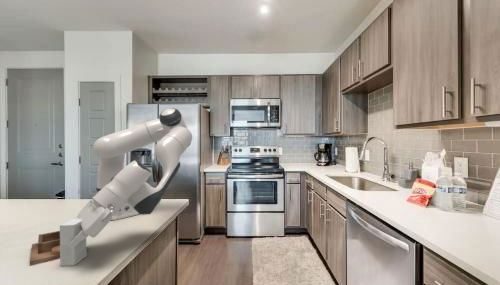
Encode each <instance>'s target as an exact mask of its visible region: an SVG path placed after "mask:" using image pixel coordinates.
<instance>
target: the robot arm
mask: <svg viewBox="0 0 500 285" xmlns="http://www.w3.org/2000/svg"><path fill="white" fill-rule="evenodd" d="M192 141H193V135H192V132H191V131H190V130H189V128H188V125H187V124H186V122H185V120H184V117H183V116H182V113H181V112H180V111H179V109H178V108H175V107H173V108H167V109H165V110H163V111H161V112H160V114H159V118H156V119H152V120H149V121H146V122H142V123H139V124H137V125H134V126H131V127H129V128H125V129H123V130H119V131H115V132H112V133H110V134H107V135H104V136H101V137H99V138H98V139H96V140H95V141H94V143H93V146H92V149H93V150H92V151H93V153H94V154H95V156H97V157H98V158H99V164H98V169H97V170H96V171H97V172H96V173H97V174H96V177H97V178H96V181H97V182H96V183H97V184H96V185H97V186H96V190H95V193H94V194H93V195H92V198H91V199H90V200H89V201H88V202H87V203H86V204H85V206H83V207H82V209H81V210H80V211H79V212H78V214H77V215H76V217H77V218H76V219H82V222H81V227H82V230H81V231H80V233H79V234H78V235H77V236H76V237H74V238H73V239H72V240H71V241H70V243H71V245H73V246H76V245H77V244H78V243H79V242H80V241H82V240H83V239H85V238H86V239H87V237H91V238H95V237H97V236H98V235H99V234H100V233H101V232H102V231H103V230H104V229H105V227H106V226H107V225H108V223H110V221H116V220H121V219H125V218H129V217H134V216H137V215H142V216H143V215H151V214H152V213H153V212H155V211H156V210H157V208H158V207H159V206H160V204H161V201H162V199H163V196H164V194H165V193H166V191H167V190H168V188H169V187H170V185H171V183H172V182H173V180H174V179H175V177H176V175H177V173H178V171H179V169H180V167H181V162H180V159H181V158H180V157H181V156H182V154H183V153H184V152H186V151H187V149H188V148H189V147H190V145H191V144H192ZM156 142H157V143H156ZM153 143H156V145H155V149H154V150H155V157H156V159H157V161H158V162H159V164H160V165H161V167H162V169H163V176H162V177H161V180H160V181H159V182H158V184H157V185H156V187H153V186H152V185H151V184H149V183H147V180H148V179H149V177H151V175H152V171H151V170H150V169H149V168H148V167H147V166H146V165H144V164H143V163H142V162H141V161H139V160H133V161H131V162H130V163H128V164H127V165H126V166H125V167H124V165H125V155H126V154H128V153H130V152H133V151H135V150H136V151H137V150H139V149H140V148H141V149H142V148H143V147H146V146H148V145H151V144H153Z"/></svg>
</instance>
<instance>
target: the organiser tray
mask: <svg viewBox="0 0 500 285" xmlns="http://www.w3.org/2000/svg"><path fill="white" fill-rule="evenodd" d="M37 239H38V241H37V242H36V243H32V244H31V248H30V255H29V256H30V257H29V266H35V265H38V264H39V265H40V264H43V263H47V262H51V261H54V260H60V230H57V231H52V232H45V233H40V234H38V238H37ZM86 251H87V252H88V246H87V245H86Z"/></svg>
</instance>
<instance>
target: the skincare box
mask: <svg viewBox="0 0 500 285" xmlns="http://www.w3.org/2000/svg"><path fill="white" fill-rule="evenodd" d="M81 222H82V219H78V218H72V219H70V220H68V221H66V222H63V223H62V224H60V225H59V231H60V258H59V260H60V261H59V262H60V267H68V266H71V267H72V266H76V265H78V263H80V262H81V261H82V260H83V259H85V258H86V257H87V253H88V250H87V251H86V246H87V237H86V238H85V239H83V240H82V241H80V242H79V243H78V244H77V245H76V246H73V245H71V243H70V241H71V240H72V239H73V238H74V237H76V236H77V235H78V234H79V233H80V231H81V230H82V227H81Z"/></svg>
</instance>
